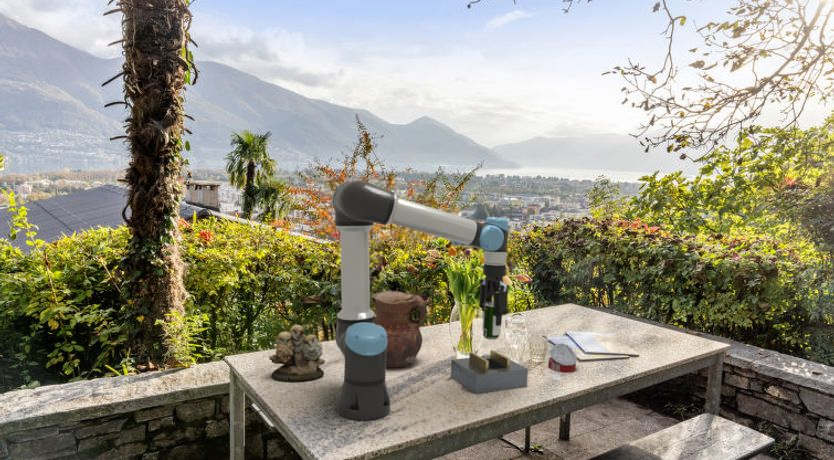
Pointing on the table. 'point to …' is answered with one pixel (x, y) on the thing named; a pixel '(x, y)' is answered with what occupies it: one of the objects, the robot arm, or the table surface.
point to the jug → (399, 325)
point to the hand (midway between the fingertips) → (491, 332)
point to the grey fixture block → (488, 373)
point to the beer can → (489, 321)
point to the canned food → (562, 359)
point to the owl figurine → (297, 356)
